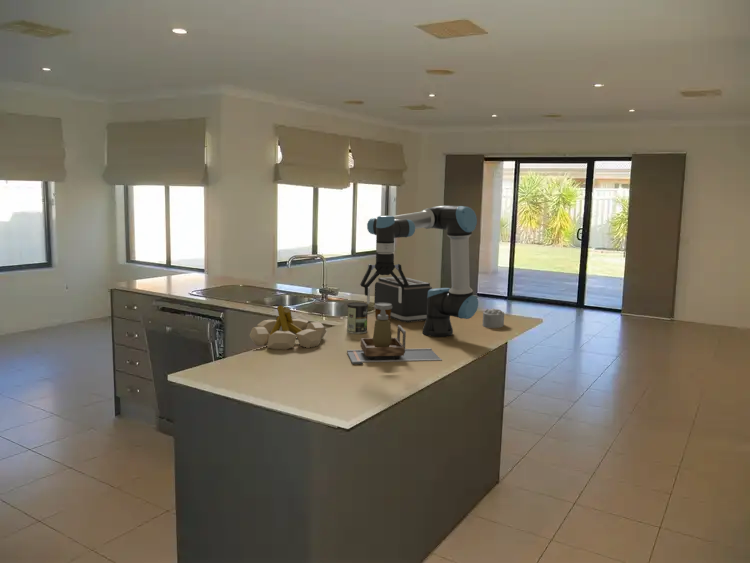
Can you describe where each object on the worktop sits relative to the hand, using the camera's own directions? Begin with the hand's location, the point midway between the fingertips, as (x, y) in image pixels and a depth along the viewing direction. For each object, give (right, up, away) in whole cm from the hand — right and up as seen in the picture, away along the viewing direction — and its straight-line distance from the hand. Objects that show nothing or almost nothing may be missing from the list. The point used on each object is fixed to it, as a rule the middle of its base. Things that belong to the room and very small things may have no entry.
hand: (384, 302), depth 264 cm
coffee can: (-13, -16, +51) cm, 55 cm away
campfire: (-44, -19, +29) cm, 56 cm away
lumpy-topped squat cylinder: (+59, -15, +72) cm, 95 cm away
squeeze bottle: (-1, -20, +3) cm, 20 cm away
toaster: (+11, -11, +92) cm, 94 cm away
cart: (-1, -23, +3) cm, 23 cm away
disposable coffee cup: (0, -15, +63) cm, 65 cm away
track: (+4, -24, +4) cm, 25 cm away
